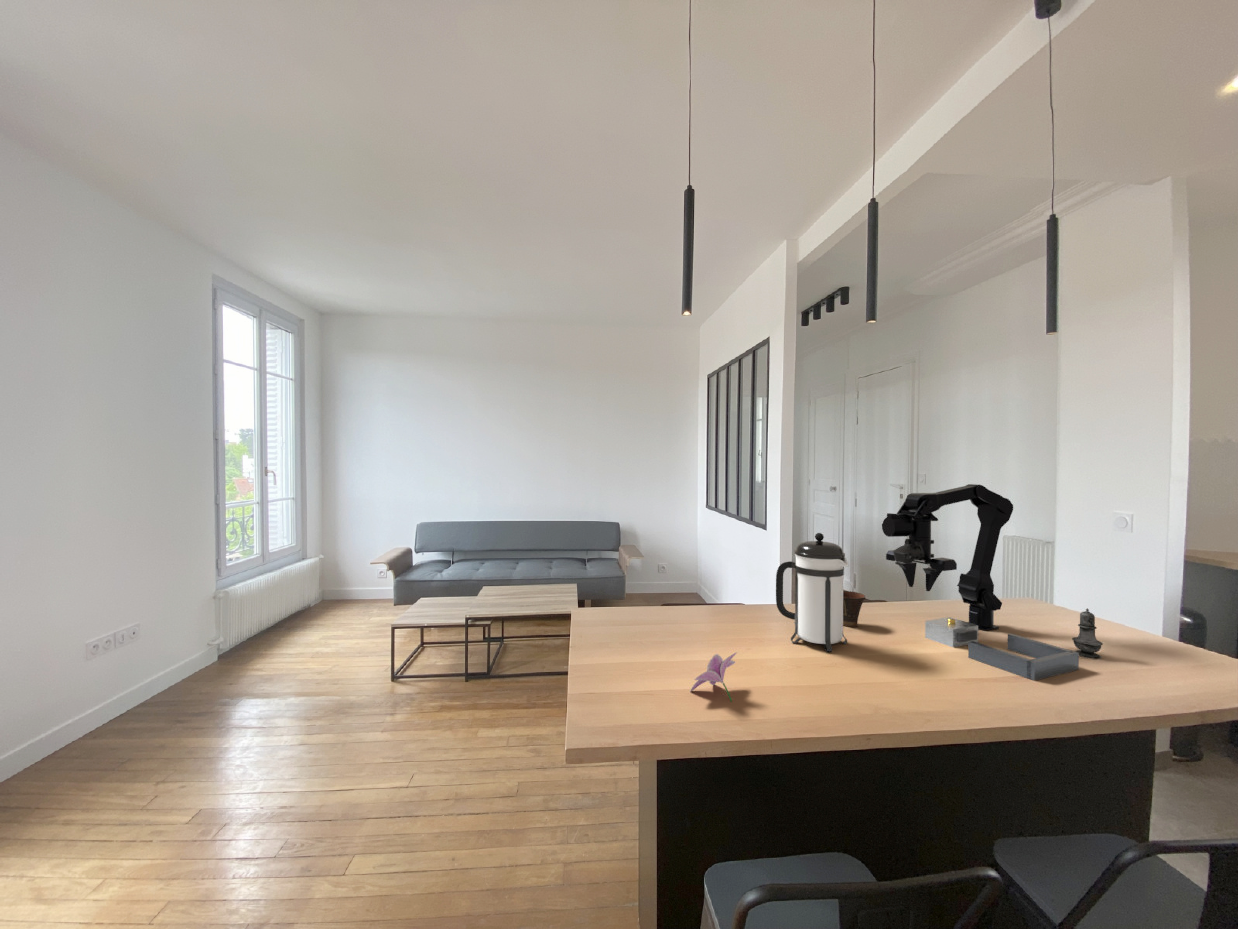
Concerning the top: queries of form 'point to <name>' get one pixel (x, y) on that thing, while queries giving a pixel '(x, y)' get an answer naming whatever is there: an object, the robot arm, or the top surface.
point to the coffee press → (816, 592)
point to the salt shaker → (1087, 637)
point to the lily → (715, 671)
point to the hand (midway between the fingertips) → (919, 589)
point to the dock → (1044, 665)
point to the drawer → (951, 631)
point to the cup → (851, 607)
